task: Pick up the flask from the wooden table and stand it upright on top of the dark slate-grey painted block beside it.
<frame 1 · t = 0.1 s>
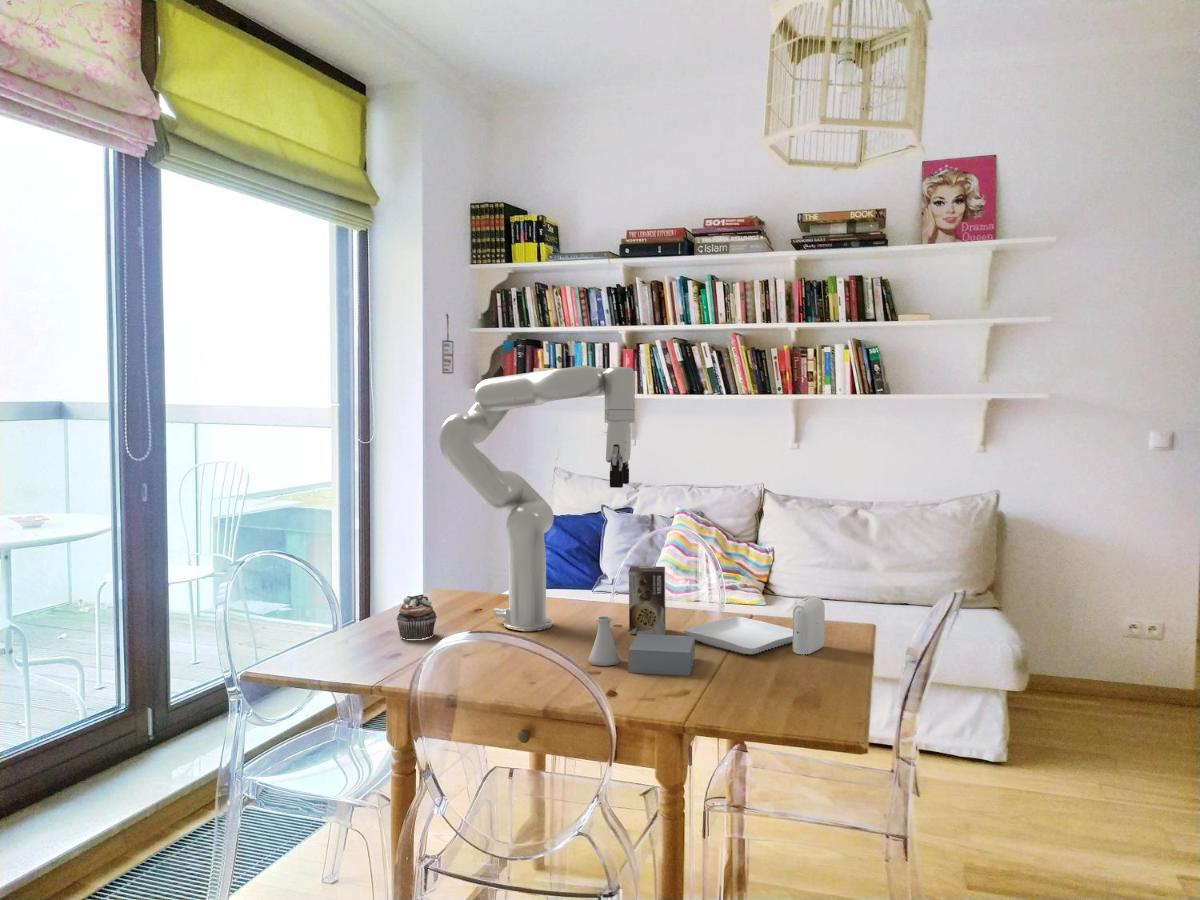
hand: (619, 485, 221), 37 cm above the table, tool pointing down, fingers open, 9 cm apart
flask: (604, 663, 197), on the table
cupcake: (416, 637, 218), on the table
slate block: (662, 665, 194), on the table
salad plate: (743, 644, 213), on the table
coffee box: (647, 632, 222), on the table
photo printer: (808, 651, 206), on the table
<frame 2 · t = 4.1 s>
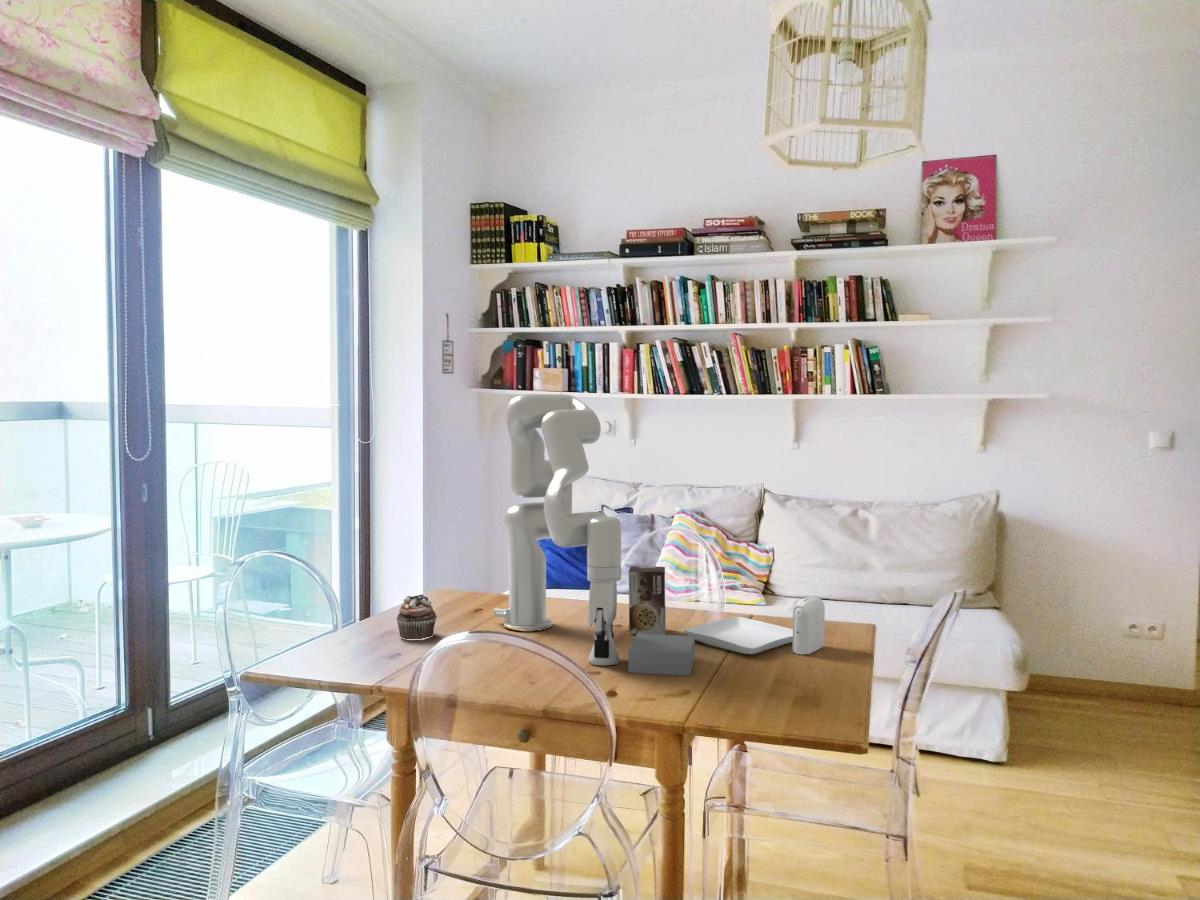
hand: (604, 653, 197), 2 cm above the table, tool pointing down, fingers closed on flask, 4 cm apart
flask: (603, 662, 197), on the table, touching gripper
everything else where it was.
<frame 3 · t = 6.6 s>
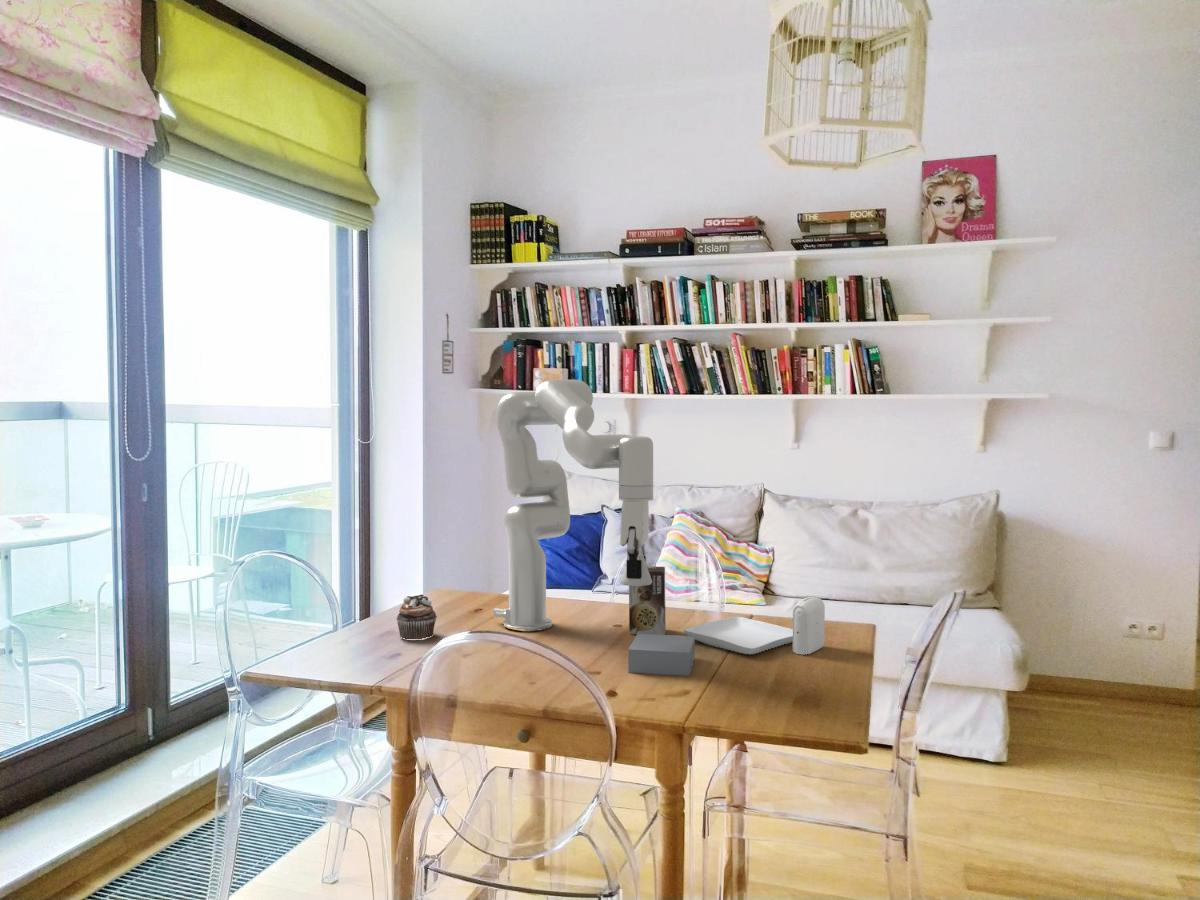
hand: (636, 575, 194), 20 cm above the table, tool pointing down, fingers closed on flask, 4 cm apart
flask: (636, 584, 194), point 18 cm above the table, touching gripper
everything else where it was.
when the fingers open (8 cm above the table, at t = 9.4 s): flask drops 1 cm, resting on slate block.
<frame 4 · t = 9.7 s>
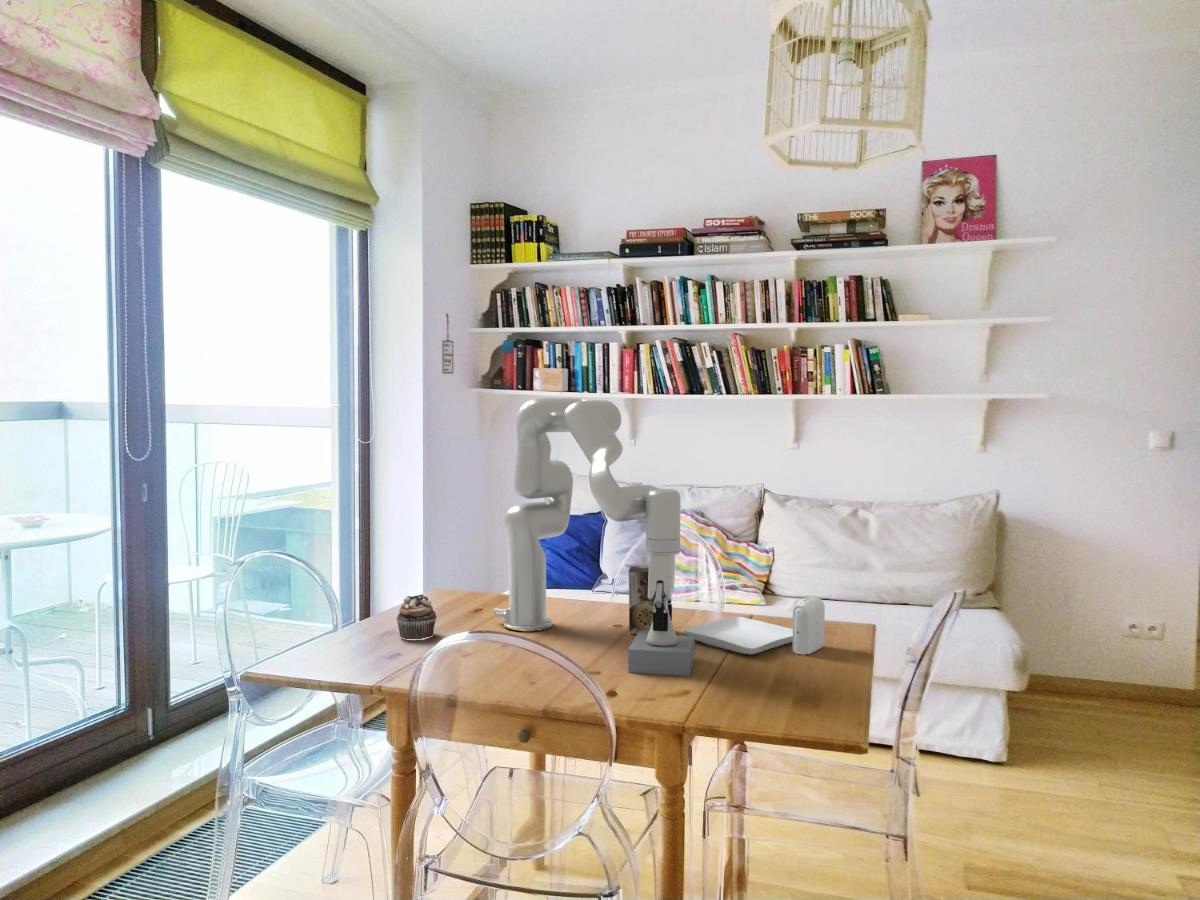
hand: (662, 625, 194), 9 cm above the table, tool pointing down, fingers open, 7 cm apart
flask: (661, 643, 194), point 5 cm above the table, touching slate block
everything else where it was.
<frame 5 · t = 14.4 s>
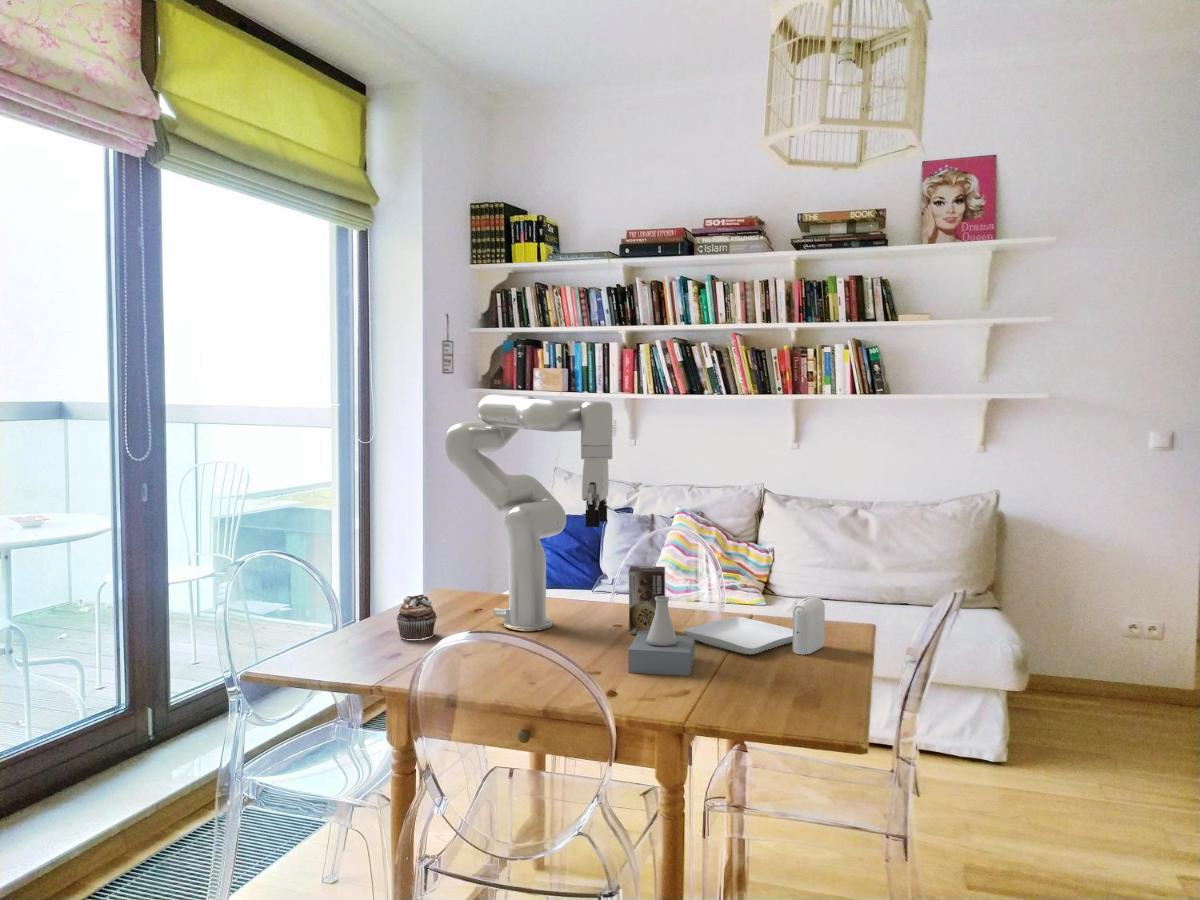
hand: (596, 524, 213), 28 cm above the table, tool pointing down, fingers open, 9 cm apart
nothing on the table moved.
at the end: flask inside the target area on the slate block (0.2 cm from its centre), point 4.8 cm above the slate block's base; flask tilted 0°; the gripper is holding nothing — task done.
